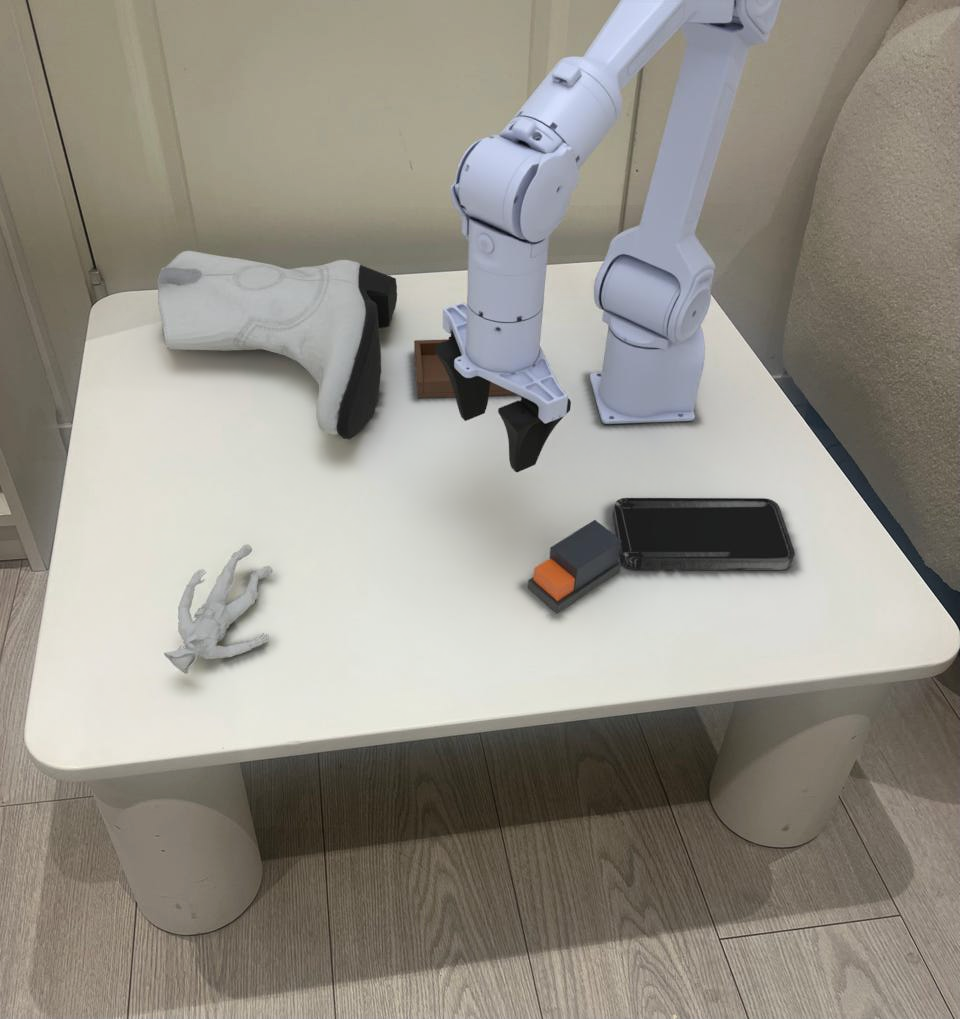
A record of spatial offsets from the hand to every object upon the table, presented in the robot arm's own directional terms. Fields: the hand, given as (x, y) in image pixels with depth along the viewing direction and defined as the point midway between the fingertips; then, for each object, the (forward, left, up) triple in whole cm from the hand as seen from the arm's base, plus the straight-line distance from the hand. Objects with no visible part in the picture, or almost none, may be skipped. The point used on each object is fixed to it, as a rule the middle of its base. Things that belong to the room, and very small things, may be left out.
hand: (497, 440), depth 85 cm
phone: (-18, +4, -9) cm, 21 cm away
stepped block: (-6, +8, -9) cm, 14 cm away
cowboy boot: (+21, -23, -9) cm, 33 cm away
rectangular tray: (0, -21, -9) cm, 23 cm away
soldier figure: (+23, +11, -9) cm, 27 cm away
